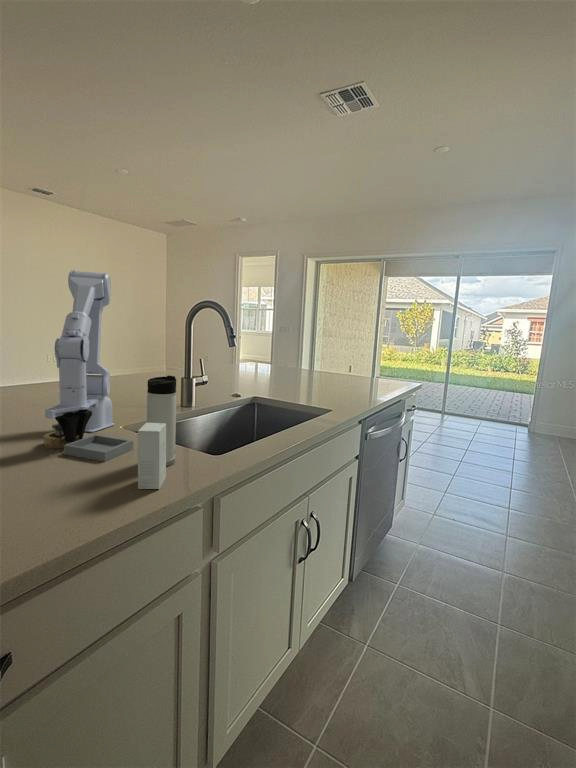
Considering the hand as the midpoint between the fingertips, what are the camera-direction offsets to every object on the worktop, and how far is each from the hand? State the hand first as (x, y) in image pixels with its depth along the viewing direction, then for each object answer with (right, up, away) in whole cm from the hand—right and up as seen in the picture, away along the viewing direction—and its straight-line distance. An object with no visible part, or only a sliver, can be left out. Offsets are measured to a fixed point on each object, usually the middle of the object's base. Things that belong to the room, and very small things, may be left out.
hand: (74, 440), depth 97 cm
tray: (+7, -2, -2) cm, 8 cm away
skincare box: (+25, -6, -18) cm, 32 cm away
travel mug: (+23, -4, -6) cm, 25 cm away
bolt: (-4, -1, +1) cm, 5 cm away
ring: (-3, -1, +1) cm, 4 cm away
